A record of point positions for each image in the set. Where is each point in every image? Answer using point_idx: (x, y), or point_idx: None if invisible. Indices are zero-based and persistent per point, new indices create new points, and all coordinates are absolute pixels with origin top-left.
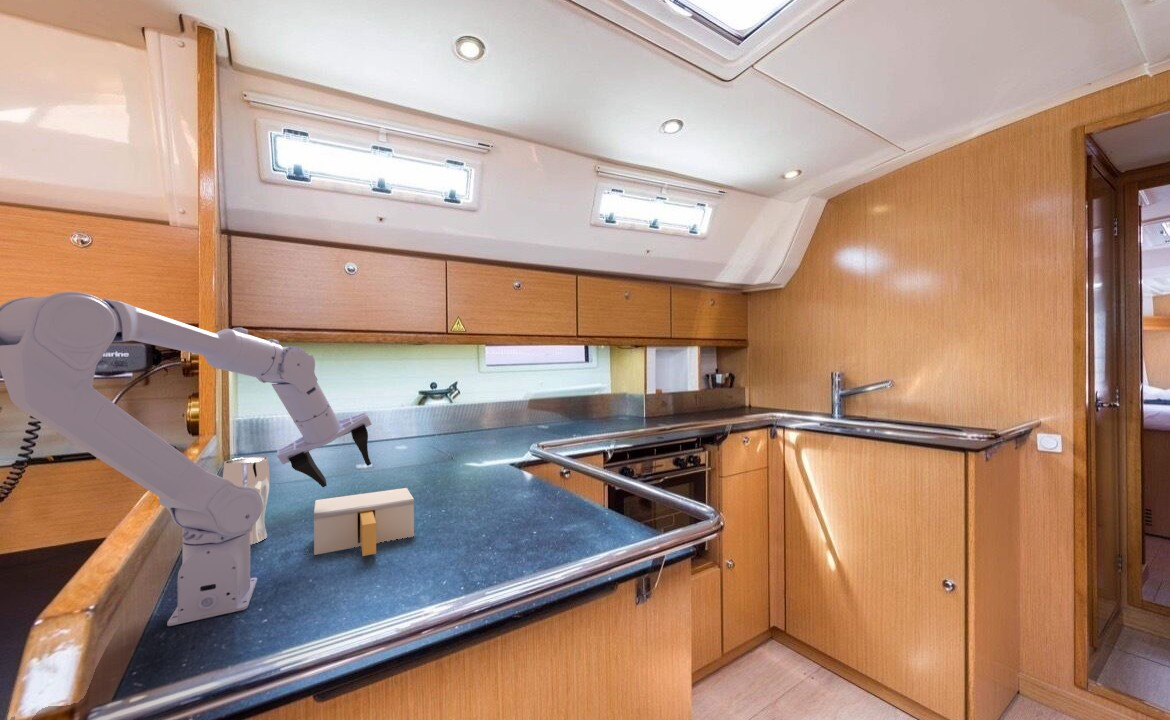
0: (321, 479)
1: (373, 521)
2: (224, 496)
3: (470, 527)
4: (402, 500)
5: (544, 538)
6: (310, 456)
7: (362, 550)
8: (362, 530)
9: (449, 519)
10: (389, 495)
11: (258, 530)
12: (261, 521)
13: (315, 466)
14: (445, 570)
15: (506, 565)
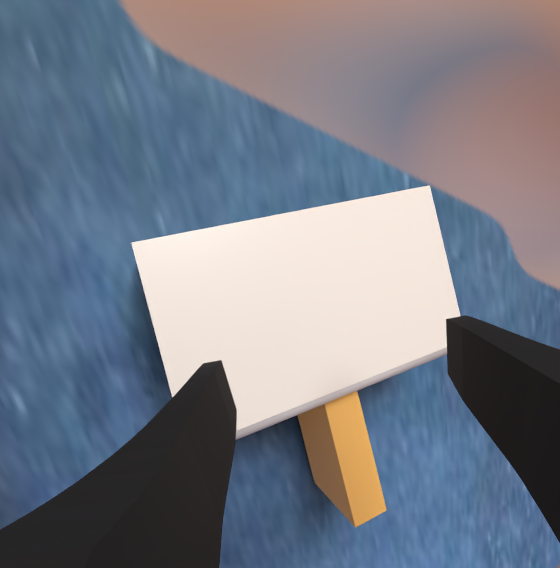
0: (230, 465)
1: (377, 494)
2: None
3: (489, 304)
4: (439, 349)
5: None
6: (161, 514)
7: (317, 479)
8: (345, 513)
9: (448, 230)
10: (394, 271)
11: None
12: None
13: (196, 467)
14: (461, 536)
15: (543, 523)
